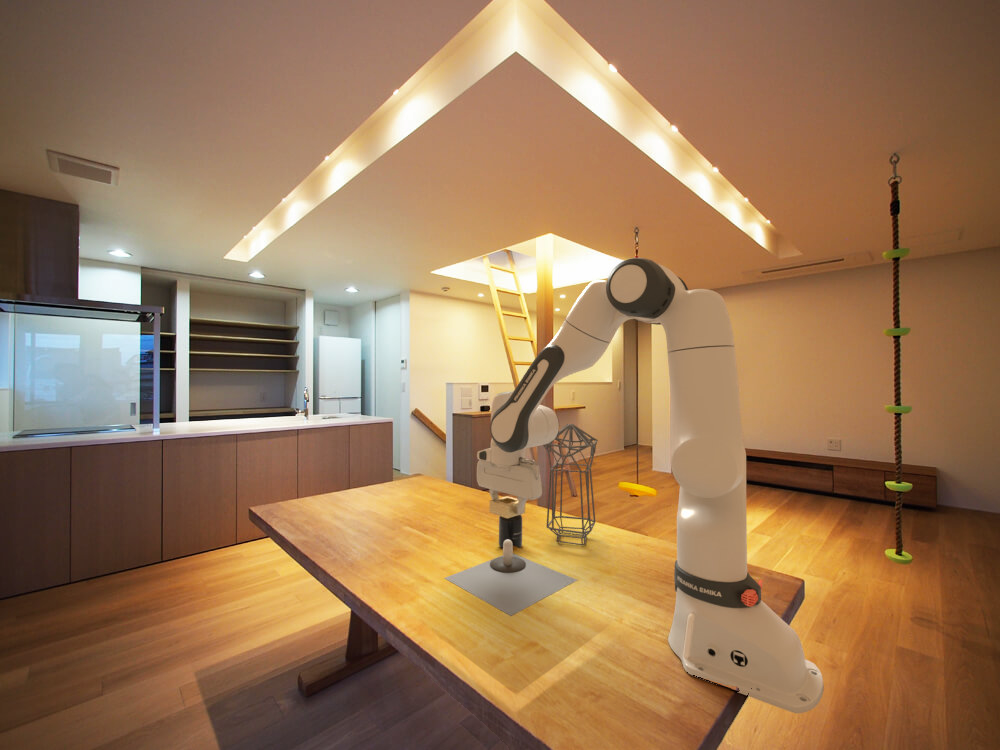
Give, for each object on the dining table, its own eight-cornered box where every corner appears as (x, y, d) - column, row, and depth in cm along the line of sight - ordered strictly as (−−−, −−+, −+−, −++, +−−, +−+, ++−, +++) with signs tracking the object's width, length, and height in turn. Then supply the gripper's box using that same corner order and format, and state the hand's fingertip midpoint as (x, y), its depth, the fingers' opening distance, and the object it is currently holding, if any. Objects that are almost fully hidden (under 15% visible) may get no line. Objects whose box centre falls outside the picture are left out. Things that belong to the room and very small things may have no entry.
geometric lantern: (594, 552, 115) (594, 427, 116) (539, 545, 120) (539, 425, 121) (600, 533, 130) (599, 422, 131) (550, 528, 135) (550, 421, 136)
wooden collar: (525, 513, 104) (525, 501, 104) (507, 518, 100) (507, 505, 100) (507, 507, 109) (507, 496, 109) (489, 512, 104) (489, 500, 104)
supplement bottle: (520, 551, 116) (520, 508, 116) (496, 549, 117) (496, 507, 118) (523, 542, 123) (523, 501, 123) (501, 540, 124) (501, 500, 124)
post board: (577, 586, 96) (577, 552, 96) (510, 623, 80) (510, 583, 81) (510, 557, 111) (510, 529, 112) (444, 584, 96) (444, 551, 97)
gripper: (547, 459, 99) (547, 517, 99) (490, 449, 114) (490, 499, 114) (530, 462, 95) (529, 523, 94) (472, 451, 110) (472, 504, 109)
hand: (507, 510), depth 104 cm, fingers closed on wooden collar, 6 cm apart
